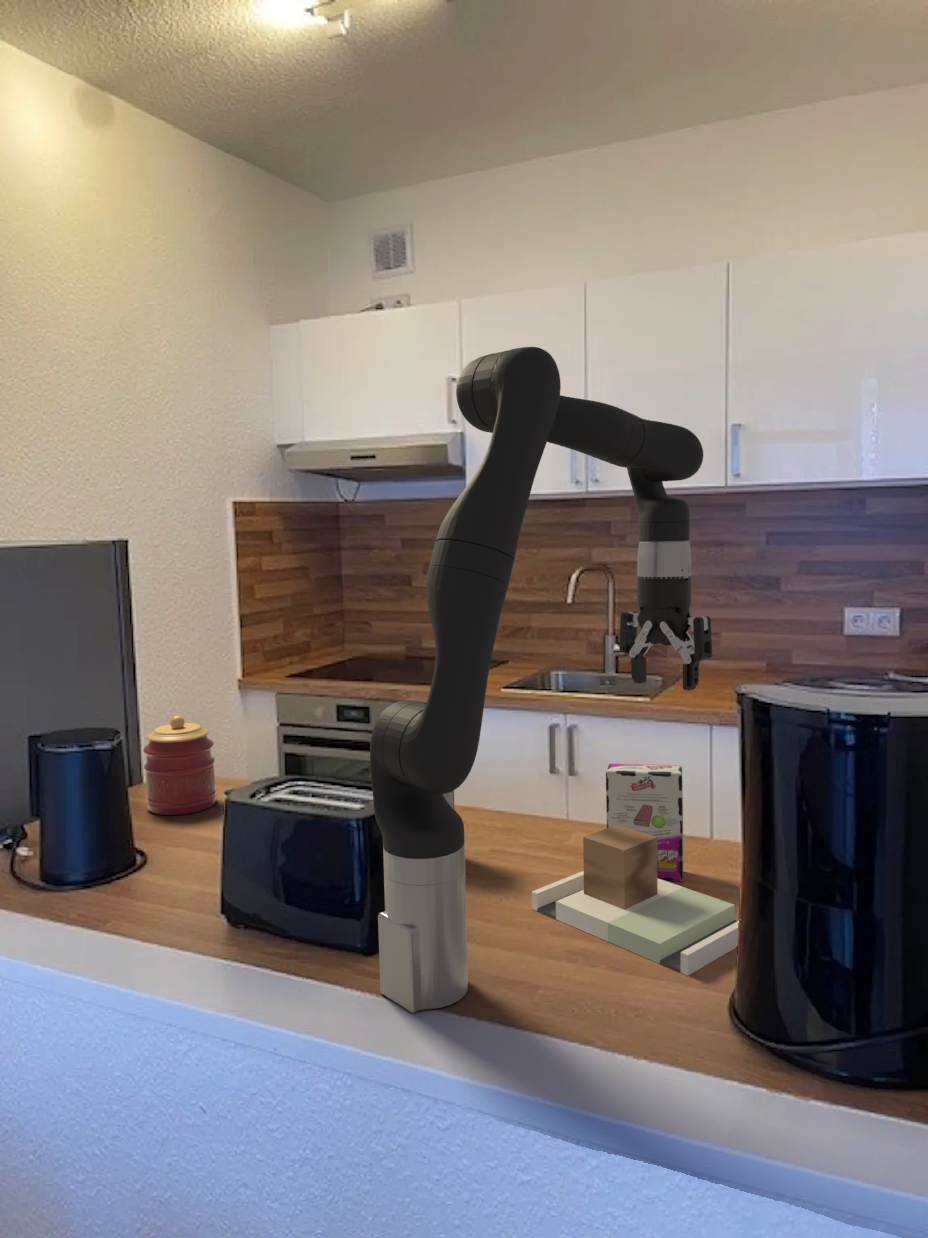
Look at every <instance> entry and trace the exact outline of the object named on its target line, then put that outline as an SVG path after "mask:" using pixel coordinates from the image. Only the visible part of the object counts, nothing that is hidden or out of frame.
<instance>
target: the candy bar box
mask: <svg viewBox="0 0 928 1238" xmlns="http://www.w3.org/2000/svg"><path fill="white" fill-rule="evenodd" d="M683 787H684V786H683V765H675V764H674V765H670V764H668V765H667V764H640V763H639V764H638V763H635V764H634V763H609V764H608V766H607V768H606V772H605V793H606V794H605V796H606V797H605V798H606V803H605V804H606V806H605V807H606V809H605V810H606V829H607V828H610V827H612V826H615V825H619V826H622V827H625V828H629V829H632V830H635V831H639V832H642V833H645V834H649V835H652V836H655V837H657V878H658V879H661V880H664V881H667V882H683V880H684V879H683V878H684V797H683V796H684V795H683V792H684V791H683Z"/></svg>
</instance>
